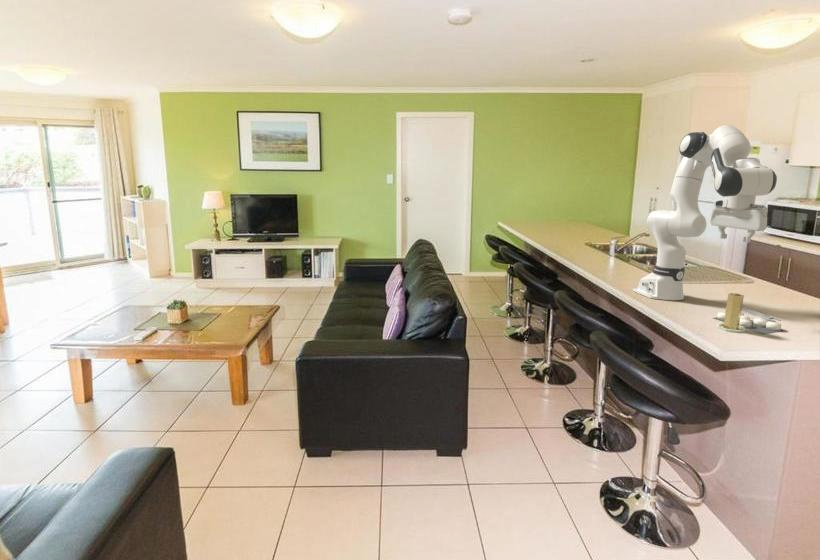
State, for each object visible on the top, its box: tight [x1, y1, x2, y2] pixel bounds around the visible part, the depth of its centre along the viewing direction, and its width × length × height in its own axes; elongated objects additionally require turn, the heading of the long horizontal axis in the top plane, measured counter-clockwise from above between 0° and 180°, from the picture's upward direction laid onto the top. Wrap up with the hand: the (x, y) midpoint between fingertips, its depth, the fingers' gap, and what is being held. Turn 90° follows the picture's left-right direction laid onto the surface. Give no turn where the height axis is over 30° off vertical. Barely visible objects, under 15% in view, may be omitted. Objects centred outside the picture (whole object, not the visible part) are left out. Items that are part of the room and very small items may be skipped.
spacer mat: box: [712, 311, 787, 335], centre depth 185 cm, size 20×12×3 cm, turn 19°
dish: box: [715, 322, 747, 334], centre depth 180 cm, size 9×9×2 cm
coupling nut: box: [722, 292, 745, 330], centre depth 179 cm, size 4×5×13 cm
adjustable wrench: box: [741, 305, 781, 322], centre depth 200 cm, size 25×6×2 cm, turn 178°
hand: (734, 240), depth 186 cm, fingers open, 8 cm apart
